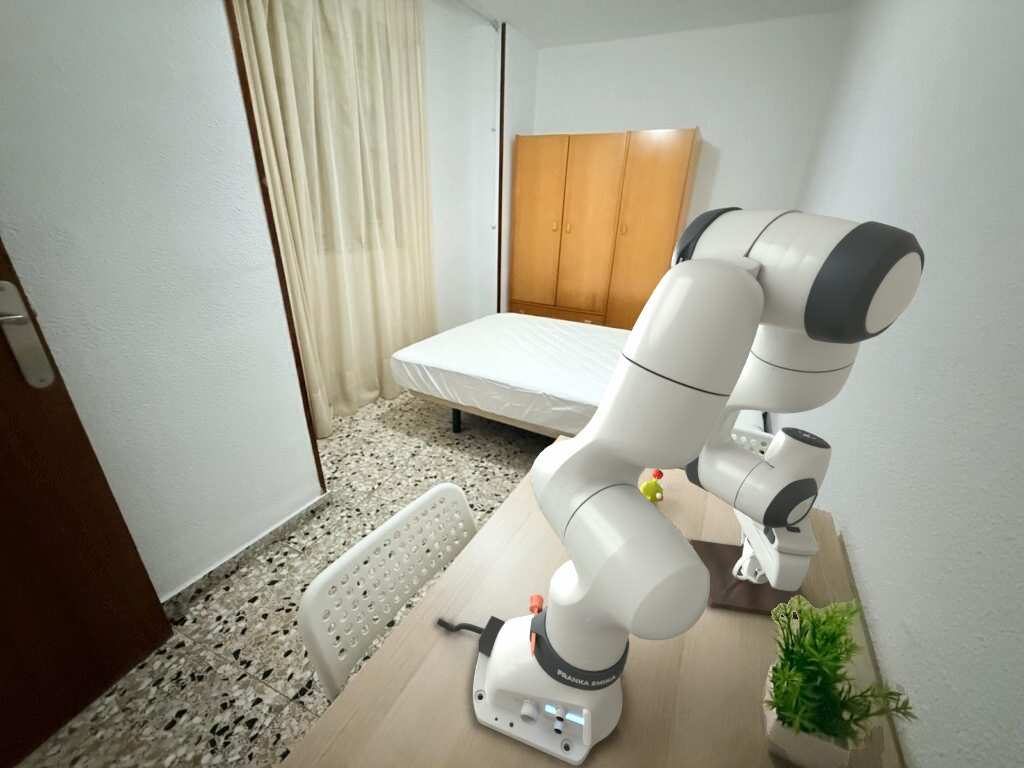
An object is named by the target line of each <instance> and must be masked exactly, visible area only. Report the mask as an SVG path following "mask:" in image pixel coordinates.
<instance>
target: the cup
mask: <svg viewBox="0 0 1024 768" xmlns="http://www.w3.org/2000/svg"><path fill="white" fill-rule="evenodd" d="M741 565H742V569H741V572H742V574H743V576H738V575H737V572H738V570H739V568H740V567H741ZM756 569H760V570H762V569H761V564H760V562H759V560H758V558H757V556H756V554H755V552H754V550H753V549H752V547H751V545H750V543H749V541H748V539H747V537H746V539H745V542H744V549H743V555H742V557H741V558H740V559H739V560H738V562H737V563H736V565H735V567H734V569H733V575H734V576H735V577H736V578H737V579H740V580H746V579H748V580H749V581H751V582H753V583H759V584H763V583H761V582H757V580H756V578H755V575H754V573H755V570H756Z"/></svg>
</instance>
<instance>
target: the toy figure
mask: <svg viewBox="0 0 1024 768" xmlns="http://www.w3.org/2000/svg"><path fill="white" fill-rule="evenodd" d="M652 477H653V479H652V480H647V481H644V482H643V483H642V484H641V486H640V488H639V490H640V491H641V493H642V494H643V495H644V496H646V497H647V498H648V499H649V500H650V501H651V502H652V503H653V504H654V505H655V504H657V503H659V502H663V501H664V490H665V487H666V486H665V485H664V484H660V483H658V481H659V480H661V479H662V478H663V477H664V473H663V470H661V469H653V472H652Z"/></svg>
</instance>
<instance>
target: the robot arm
mask: <svg viewBox="0 0 1024 768" xmlns="http://www.w3.org/2000/svg"><path fill="white" fill-rule="evenodd" d="M670 262H671V263H670V268H669V270H668V271H667V272H666V273H665V274H664V275H663V276H662V278H661V280H660V281H659V283H658V284H657V286H656V287H655V289H654V290H653V292H652V294H651V295H650V297H649V299H648V300H647V302H646V304H645V305H644V307H643V309H642V311H641V312H640V314H639V316H638V318H637V320H636V322H635V324H634V326H633V327H632V330H631V332H630V334H629V336H628V338H627V341H626V343H625V346H624V348H623V350H622V352H621V355H620V357H619V359H618V362H617V365H616V367H615V369H614V372H613V374H612V376H611V378H610V381H609V383H608V385H607V388H606V389H605V392H604V394H603V396H602V399H601V401H600V403H599V405H598V407H597V409H596V411H595V413H594V415H593V416H592V417H591V419H590V420H589V422H588V423H587V425H585V426H584V428H583V429H582V430H581V431H580V432H579V433H577V435H575V436H574V437H572V438H569V439H561V440H559V441H556V442H554V443H552V444H550V445H549V446H547V447H545V448H544V450H542V451H541V452H540V453H539V455H538V456H537V457H536V459H534V462H533V464H532V465H531V469H530V473H529V483H530V486H531V489H532V492H533V495H534V498H535V500H536V502H537V505H538V508H539V511H540V512H541V514H542V516H543V517H544V519H545V520H546V522H547V523H548V524H549V526H550V527H551V529H552V530H553V532H554V534H555V535H556V536H557V538H558V540H559V541H560V542H561V545H562V546H563V547H564V548H565V551H566V552H567V554H568V556H569V557H570V559H569V560H567V561H566V562H564V563H563V564H561V566H560V567H559V568H558V569H557V570H556V571H555V572H554V574H553V575H552V577H551V579H550V582H549V589H548V597H547V606H546V607H544V609H543V606H544V600H545V599H544V597H543V596H542V595H540V594H532V595H531V596H530V598H529V607H528V609H529V612H531V613H532V614H528V615H523V616H518V617H513V618H510V619H508V620H507V621H505V620H502V619H500V618H499V617H496V616H494V615H491V616H490V617H489V619H488V621H487V623H486V624H485V627H482V626H479V625H475V624H472V623H468V622H460V623H458V624H456V625H455V624H452V623H449V622H447V621H446V620H445V619H443V618H438V620H437V623H436V625H438V626H439V627H442V628H443V629H445V630H447V631H450V632H453V633H457V632H460V631H461V630H464V631H469V632H472V633H475V634H478V635H480V636H479V638H478V652H479V653H478V656H477V661H476V665H475V671H474V675H473V684H472V704H473V711H474V714H475V717H476V720H477V721H478V723H479V724H481V725H482V726H484V727H487V728H489V729H491V730H494V731H495V732H498V733H500V734H502V735H504V736H507V737H509V738H512V739H513V740H516V741H518V742H520V743H522V744H525V745H527V746H529V747H532V748H533V749H536V750H538V751H540V752H543V753H545V754H546V755H550V756H552V757H554V758H556V759H558V760H561V761H563V762H565V763H567V764H570V765H571V766H575V767H576V766H577V767H578V766H580V765H581V764H582V763H584V761H585V760H586V758H587V757H588V755H589V753H590V751H591V750H592V748H593V747H594V746H595V745H597V744H599V742H601V741H602V740H604V739H606V738H608V736H609V735H610V734H612V732H613V731H614V729H615V728H616V726H617V725H618V723H619V721H620V718H621V716H622V711H623V706H624V705H623V703H624V702H623V701H624V695H623V689H622V683H621V676H622V674H623V673H624V670H625V667H626V666H625V665H627V663H628V658H629V651H630V639H629V637H630V634H632V635H633V636H634V637H636V638H638V639H642V640H647V641H665V640H669V639H673V638H676V637H678V636H681V635H683V634H685V633H686V632H688V631H689V630H691V629H692V628H693V627H694V626H695V625H696V624H697V622H699V620H700V619H701V617H702V615H703V614H704V612H705V610H706V607H707V605H708V604H709V601H708V599H709V594H710V574H709V571H708V569H707V568H706V566H705V565H704V563H703V562H702V560H701V559H700V557H699V556H698V554H697V553H696V551H695V550H694V549H693V547H692V546H691V544H690V541H689V540H688V539H687V538H686V536H685V535H684V533H683V531H682V530H681V529H680V528H679V527H678V526H677V525H675V524H674V523H673V521H672V520H670V519H669V517H668V516H666V515H665V514H664V513H663V512H662V511H661V510H660V509H659V508H658V507H657V506H656V505H655V503H654V504H653V503H652V502H651V501H650V500H649V499H648V498H647V497H646V496H644V495H643V494H642V493H641V491H640V488H639V481H640V478H641V476H642V474H643V472H644V471H645V470H646V469H653V470H661V471H666V470H667V471H669V470H676V469H680V468H684V472H685V475H686V478H687V480H688V482H690V484H693V485H695V486H697V487H698V488H700V489H702V490H704V491H706V492H708V493H711V494H712V495H713V496H715V497H716V498H718V499H719V500H721V501H723V502H724V503H726V504H727V505H728V506H730V507H732V511H733V513H734V515H735V517H736V519H737V521H738V523H739V525H740V527H741V532H740V533H741V540H740V544H739V546H741V548H742V550H743V549H744V542H745V539H746V537H747V539H748V541H749V543H750V545H751V547H752V549H753V550H754V552H755V554H756V556H757V558H758V560H759V562H760V564H761V569H762V570H760V569H756V570H755V573H754V575H755V578H756V580H757V582H761V583H766V582H767V581H768V580H769V582H770V584H771V586H772V587H773V588H774V589H778V590H783V591H796V590H798V589H799V588H800V587H801V586H802V585H803V582H804V580H805V578H806V576H807V574H808V571H809V569H810V566H811V559H810V556H816V555H817V554H818V552H819V543H818V541H817V539H816V536H815V534H814V530H813V527H812V524H811V517H810V515H809V513H810V512H811V510H812V508H813V506H814V504H815V502H816V501H817V498H818V495H819V491H820V489H821V486H822V485H823V482H824V480H825V478H826V475H827V472H828V469H829V466H830V462H831V459H832V458H831V457H832V451H833V449H832V446H831V445H830V444H829V442H827V441H826V440H825V439H823V438H822V437H820V436H818V435H816V434H814V433H811V432H810V431H806V430H803V429H800V428H797V427H789V426H788V427H787V426H786V427H785V426H784V427H781V428H780V429H779V430H778V431H777V433H776V434H775V435H774V437H773V439H772V441H771V442H770V444H769V446H768V448H767V449H766V452H765V454H764V456H762V455H759V454H758V453H755V452H754V451H752V450H750V449H748V448H746V447H744V446H742V445H741V444H739V442H737V441H735V439H734V438H733V437H732V435H731V434H732V431H733V429H734V427H735V424H736V422H737V420H738V418H739V416H740V413H741V411H756V412H757V411H758V412H766V413H772V414H783V415H784V414H785V415H786V414H799V413H803V412H808V411H812V410H816V409H818V408H821V407H822V406H823V407H824V406H825V405H826V404H828V403H830V402H831V401H833V400H834V399H835V398H837V397H838V395H839V394H840V393H841V391H842V389H844V387H845V384H846V383H847V381H848V379H849V377H850V375H851V372H852V370H853V368H854V364H855V362H856V358H857V356H858V353H859V349H860V348H861V347H860V346H861V344H862V343H861V342H864V341H867V340H870V339H873V338H875V337H877V336H880V335H882V334H883V333H884V332H886V330H888V329H889V328H890V327H891V326H892V325H893V324H894V323H895V322H896V321H897V320H898V318H899V317H900V316H901V315H902V314H903V313H904V312H905V311H906V309H907V308H908V307H909V305H910V304H911V302H912V301H913V299H914V297H915V295H916V294H917V291H918V288H919V285H920V282H921V278H922V274H923V271H924V267H925V252H924V250H923V249H922V247H921V245H920V243H919V241H918V239H917V237H916V236H915V234H913V233H912V232H909V231H908V230H905V229H902V228H900V227H897V226H893V225H891V224H886V223H883V222H878V221H874V220H870V221H869V220H868V221H865V222H858V221H854V220H851V219H845V218H840V217H836V216H829V215H823V214H816V213H808V212H803V211H802V210H799V209H785V208H746V209H743V208H742V207H738V206H730V207H728V206H727V207H721V208H716V209H711V210H707V211H705V212H703V213H701V214H699V215H698V216H696V218H695V219H693V220H692V221H691V222H690V223H689V225H688V226H686V228H685V229H684V231H682V233H681V235H680V236H679V238H678V240H677V242H676V244H675V246H674V249H673V253H672V257H671V261H670ZM479 697H482V699H479ZM565 747H568V749H569V750H566V749H565Z"/></svg>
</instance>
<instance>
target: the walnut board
mask: <svg viewBox="0 0 1024 768" xmlns="http://www.w3.org/2000/svg"><path fill="white" fill-rule="evenodd" d="M689 543H690V544H691V546H692V547H693V549H694V550H695V551H696V553H697V554H698V556H699V557H700V559H701V560H702V562H703V563H704V565H705V566H706V568H707V569H708V571H709V574H710V594H709V599H708V604H709V607H711V608H717V609H723V610H724V609H725V610H730V611H737V612H744V613H750V614H756V615H757V614H758V615H764V616H772V614H771V611H772V610H773V609H774V608H776V607H777V606H778V604H780V603H785V604H788V602H789V600H790V599H791V597H794V596H796V595H801V596H803V597H805V595H804V593H803V591H802V589H801V588H800V587H799V589H798V590H796V591H783V590H778V589H774V588H773V587H772V586H771V584H770V582H769V580H768V581H767V582H766V583H763V584H759V583H753V582H751V581H749V580H748V579H746V580H740V579H737V578H736V577H735V576H734V575H733V569H734V567H735V565H736V563H737V562H738V560H739V559H740V558H741V557H742V555H743V550H742V548H741V546H740V545H737V544H736V545H735V544H728V543H722V542H721V543H719V542H713V541H704V540H697V539H690V541H689ZM741 569H742V565H741V567H740V568H739V570H738V572H737V575H738V576H743V574H742V572H741ZM772 617H773V616H772ZM780 618H784V616H783V615H781V617H780ZM791 620H798V617H797V614H796V612H793V618H792V619H791ZM798 621H799V620H798Z"/></svg>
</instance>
